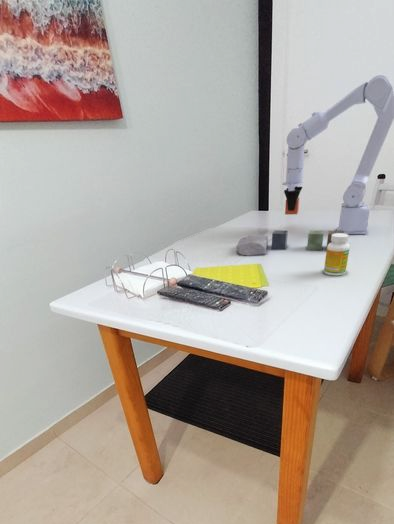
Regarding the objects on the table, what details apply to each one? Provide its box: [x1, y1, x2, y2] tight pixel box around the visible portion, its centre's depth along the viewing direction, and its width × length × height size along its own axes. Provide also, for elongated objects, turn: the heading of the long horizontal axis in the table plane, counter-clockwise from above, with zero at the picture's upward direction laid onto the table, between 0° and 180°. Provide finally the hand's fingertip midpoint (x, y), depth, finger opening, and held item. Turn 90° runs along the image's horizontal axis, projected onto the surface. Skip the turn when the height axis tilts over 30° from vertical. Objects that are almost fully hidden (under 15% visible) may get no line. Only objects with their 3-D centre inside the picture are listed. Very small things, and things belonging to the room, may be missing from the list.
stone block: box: [236, 234, 269, 257], centre depth 111 cm, size 12×5×10 cm
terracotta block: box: [284, 197, 300, 215], centre depth 126 cm, size 4×4×5 cm
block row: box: [271, 229, 344, 251], centre depth 108 cm, size 21×4×5 cm, turn 70°
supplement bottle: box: [323, 233, 351, 277], centre depth 87 cm, size 5×5×10 cm
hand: (292, 209), depth 127 cm, fingers closed on terracotta block, 4 cm apart
